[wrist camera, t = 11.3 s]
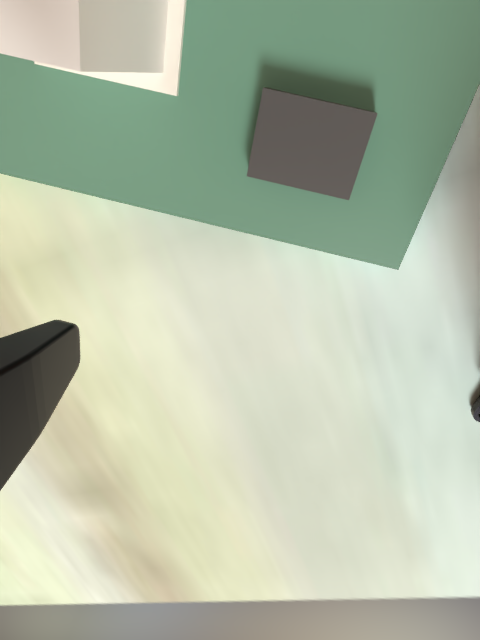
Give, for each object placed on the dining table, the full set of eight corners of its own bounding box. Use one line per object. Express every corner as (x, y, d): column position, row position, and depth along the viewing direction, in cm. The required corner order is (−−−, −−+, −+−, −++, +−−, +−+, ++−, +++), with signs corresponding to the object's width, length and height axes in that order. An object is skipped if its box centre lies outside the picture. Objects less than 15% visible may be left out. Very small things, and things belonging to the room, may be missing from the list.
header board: (597, -220, 11) (689, -320, 8) (394, 258, 18) (406, 290, 16) (-103, -345, 12) (-230, -470, 9) (-23, 158, 19) (-80, 172, 17)
